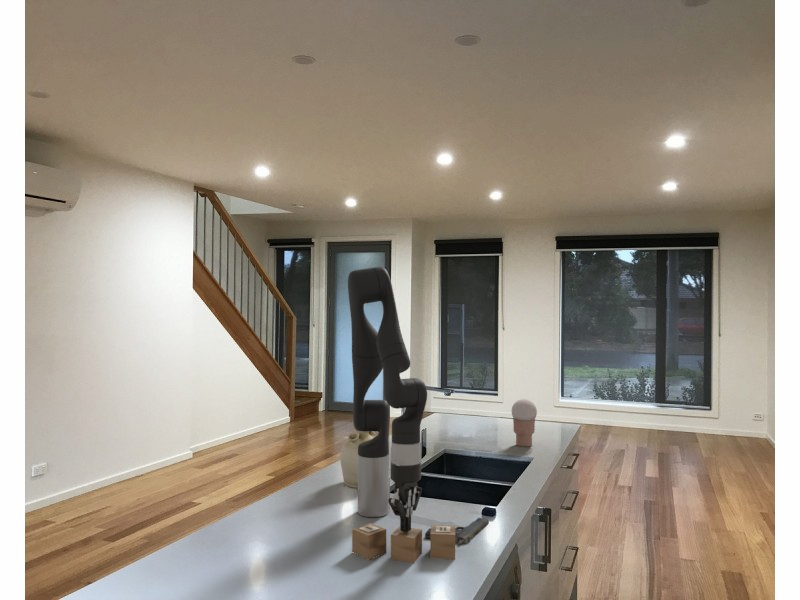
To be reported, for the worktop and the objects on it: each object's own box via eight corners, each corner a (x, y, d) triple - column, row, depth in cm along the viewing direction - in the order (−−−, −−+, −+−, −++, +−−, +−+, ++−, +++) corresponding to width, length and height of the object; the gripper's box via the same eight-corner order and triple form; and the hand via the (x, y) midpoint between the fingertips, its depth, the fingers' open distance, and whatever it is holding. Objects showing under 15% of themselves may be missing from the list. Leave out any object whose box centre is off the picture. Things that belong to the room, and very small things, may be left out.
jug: (358, 493, 199) (358, 416, 200) (331, 482, 211) (331, 410, 211) (393, 484, 209) (394, 411, 210) (366, 474, 221) (366, 405, 221)
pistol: (451, 518, 178) (490, 525, 173) (422, 539, 162) (464, 548, 156) (451, 510, 178) (490, 517, 173) (422, 532, 162) (464, 540, 156)
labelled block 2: (431, 548, 155) (431, 524, 155) (455, 549, 155) (455, 524, 155) (430, 558, 149) (430, 532, 149) (455, 559, 149) (455, 533, 149)
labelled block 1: (370, 546, 156) (370, 522, 156) (386, 553, 152) (386, 528, 152) (352, 553, 152) (352, 528, 152) (368, 560, 148) (368, 534, 148)
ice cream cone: (540, 444, 269) (540, 398, 269) (531, 449, 260) (531, 402, 260) (517, 441, 275) (517, 396, 275) (507, 445, 266) (507, 399, 266)
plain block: (399, 550, 154) (399, 526, 154) (422, 553, 152) (422, 529, 152) (390, 559, 148) (390, 534, 148) (414, 563, 146) (414, 538, 146)
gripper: (406, 452, 158) (406, 520, 158) (378, 463, 146) (378, 536, 146) (431, 456, 154) (431, 525, 154) (405, 468, 143) (405, 543, 142)
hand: (405, 530), depth 150 cm, fingers closed
